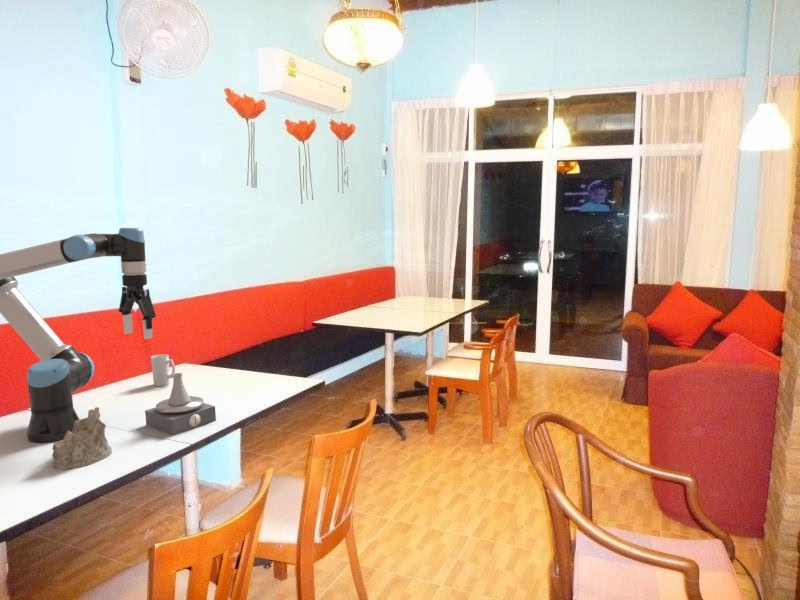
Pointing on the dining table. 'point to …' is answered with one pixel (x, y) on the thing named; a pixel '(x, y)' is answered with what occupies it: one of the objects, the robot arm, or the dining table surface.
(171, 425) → the base
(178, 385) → the flask
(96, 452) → the ceramic cottage
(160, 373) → the mug
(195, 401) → the scale pan
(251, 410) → the dining table surface
